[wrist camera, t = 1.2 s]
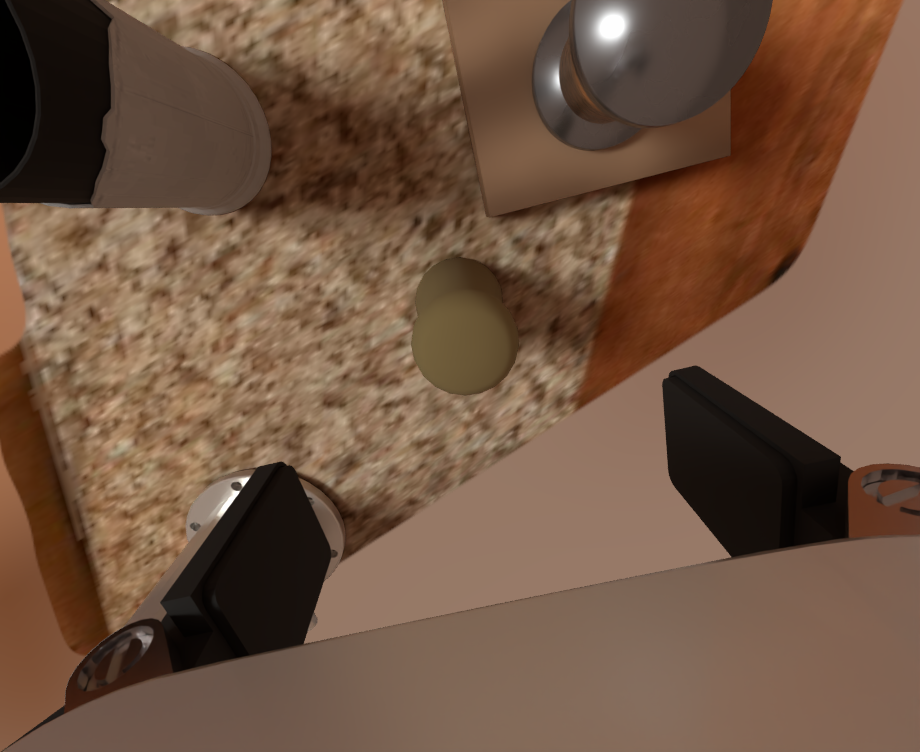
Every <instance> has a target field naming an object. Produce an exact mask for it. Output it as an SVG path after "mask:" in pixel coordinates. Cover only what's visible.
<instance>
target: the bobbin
mask: <svg viewBox="0 0 920 752" xmlns="http://www.w3.org/2000/svg"><path fill="white" fill-rule="evenodd" d="M772 1H773V0H570V1H569V2H568V3H567V4H566V5H565V6H563V7H562V8H561V9H560V11H559V12H558V13H557V14H556V15H555V17H554V18H553V19H552V21H551V23H550V24H549V26H548V27H547V29H546V31H545V33H544V34H543V37H542V39H541V41H540V43H539V45H538V48H537V51H536V54H535V58H534V62H533V69H532V93H533V98H534V103H535V106H536V109H537V112H538V114H539V117H540V119H541V121H542V122H543V124H544V125H545V127H546V128H547V129H548V131H549V132H550V133H551V134H552V135H553V136H554V137H555V138H556V139H558V140H559V141H560V142H562V143H564V144H565V145H567V146H570V147H572V148H575V149H579V150H586V151H594V150H601V149H606V148H609V147H612V146H615V145H617V144H620V143H622V142H624V141H626V140H627V139H629V138H630V137H632V136H633V135H635V134H636V133H637V132H638V131H639V130H641V129H642V128H644V129H648V128H660V127H665V126H669V125H672V124H675V123H678V122H681V121H684V120H687V119H689V118H692V117H694V116H696V115H698V114H700V113H702V112H703V111H705V110H706V109H708V108H710V107H711V106H713V105H714V104H715V103H716V102H718V101H719V100H720V99H721V98H722V97H724V96H725V95H726V94H727V93H728V92H729V91H730V90H731V88H732V87H733V86H734V85H735V84H736V83H737V82H738V80H739V79H740V78H741V77H742V75H743V74H744V72H745V71H746V69H747V68H748V66H749V65H750V63H751V62H752V60H753V58H754V56H755V54H756V52H757V50H758V48H759V46H760V43H761V41H762V38H763V36H764V33H765V31H766V27H767V24H768V20H769V17H770V12H771V7H772Z"/></svg>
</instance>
